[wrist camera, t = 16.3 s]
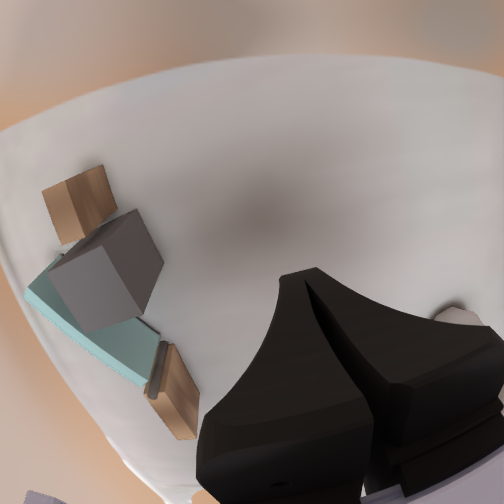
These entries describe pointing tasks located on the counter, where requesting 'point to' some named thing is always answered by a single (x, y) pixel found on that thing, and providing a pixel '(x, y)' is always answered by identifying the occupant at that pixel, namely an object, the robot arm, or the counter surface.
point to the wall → (167, 357)
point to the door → (99, 333)
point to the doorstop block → (108, 273)
